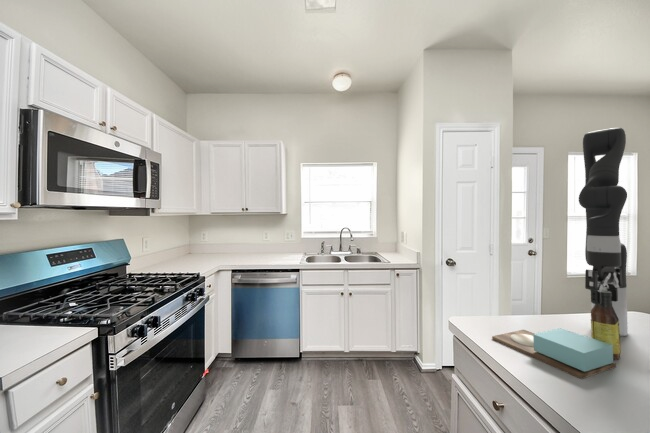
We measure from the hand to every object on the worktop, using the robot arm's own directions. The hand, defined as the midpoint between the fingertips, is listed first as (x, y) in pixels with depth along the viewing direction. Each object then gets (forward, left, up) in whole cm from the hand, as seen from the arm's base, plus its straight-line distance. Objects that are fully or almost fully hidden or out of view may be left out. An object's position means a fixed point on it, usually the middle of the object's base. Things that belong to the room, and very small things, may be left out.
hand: (604, 302), depth 85 cm
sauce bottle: (0, 0, -17) cm, 17 cm away
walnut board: (+14, -8, -17) cm, 23 cm away
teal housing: (+14, -1, -15) cm, 20 cm away
